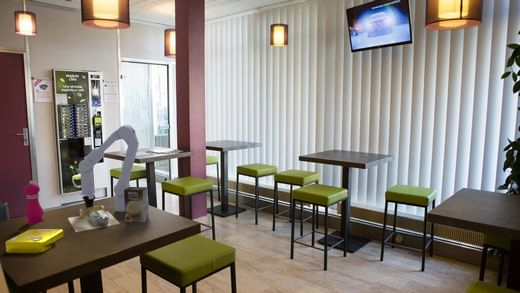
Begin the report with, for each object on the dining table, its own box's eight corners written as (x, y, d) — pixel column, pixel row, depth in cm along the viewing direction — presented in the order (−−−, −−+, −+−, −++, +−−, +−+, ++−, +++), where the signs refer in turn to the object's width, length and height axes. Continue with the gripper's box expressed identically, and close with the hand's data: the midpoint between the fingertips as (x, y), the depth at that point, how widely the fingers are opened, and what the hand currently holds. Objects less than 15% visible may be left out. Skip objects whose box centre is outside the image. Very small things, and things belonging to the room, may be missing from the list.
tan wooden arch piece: (102, 211, 182) (102, 205, 181) (104, 214, 178) (104, 207, 177) (80, 215, 176) (79, 208, 176) (81, 218, 172) (81, 211, 172)
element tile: (65, 239, 151) (65, 227, 150) (42, 253, 136) (41, 241, 135) (30, 238, 152) (29, 227, 151) (3, 253, 137) (2, 241, 136)
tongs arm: (93, 216, 174) (93, 209, 173) (100, 224, 163) (99, 215, 163) (87, 218, 172) (87, 210, 172) (94, 225, 162) (93, 217, 161)
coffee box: (124, 224, 167) (122, 189, 165) (131, 219, 173) (129, 186, 171) (144, 224, 166) (142, 189, 164) (149, 220, 172) (147, 186, 170)
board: (108, 213, 184) (107, 211, 184) (120, 226, 164) (120, 223, 164) (68, 220, 174) (67, 217, 174) (75, 234, 154) (75, 232, 154)
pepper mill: (35, 225, 167) (31, 182, 165) (22, 224, 169) (18, 182, 166) (47, 220, 174) (44, 179, 172) (34, 219, 176) (31, 179, 173)
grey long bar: (102, 215, 176) (102, 208, 176) (110, 225, 162) (110, 217, 162) (93, 217, 174) (92, 210, 173) (100, 227, 160) (100, 219, 159)
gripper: (76, 182, 185) (78, 208, 187) (81, 187, 173) (83, 215, 175) (91, 180, 189) (93, 205, 191) (97, 185, 177) (99, 212, 179)
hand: (89, 210), depth 183 cm, fingers closed
